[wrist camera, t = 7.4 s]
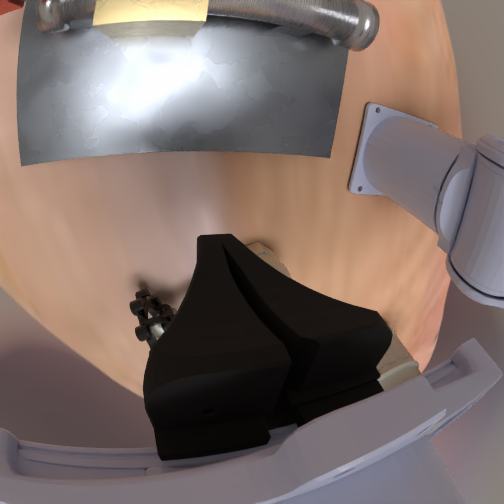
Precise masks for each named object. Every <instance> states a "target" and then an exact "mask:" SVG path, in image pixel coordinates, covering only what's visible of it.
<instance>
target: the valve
mask: <svg viewBox="0 0 504 504" xmlns="http://www.w3.org/2000/svg"><path fill="white" fill-rule="evenodd" d="M246 247H247V248H249V249H250V250H251V251H252V252H254V253H255V254H256V255H257V256H259V257H260V258H261V259H262V260H264V261H265V262H266V263H268V264H269V265H271V266H272V267H274V268H275V269H276V270H278V271H279V272H281V273H283V274H284V275H286V276H287V277H289V278H291V276H290V273H289V271H288V269H287V268H286V267H285V265H284V264H283V263H281V262H280V261H279V260H278V259H277V257H276V255H275V254H274V252H273V251H272V250H270V249H269V248H267V247H266V246H264V245H263V244H261V243H260V242H255V243H253V244H250V245H248V246H246ZM150 295H151V294H150V292H149V290H148V289H147V288H145V289H143V290H140V291H138V292H136V294H135V296H136V300H134V301H132V302H130V309H131V312H132V313H133V314H134V315H135V316H137V317H138V319H139V324H140V326H138V327H136V328H135V333H136V336H137V338H138V339H139V340H140V341H145V340H146V341H147V343H148V344H149V346H150V349H151V348H152V346H153V345H154V344H155V342H156V341H157V339H156V338H158V339H159V337H160V336H161V335H162V334H163V332H164V331H165V330H166V328H167V327H168V325H169V324H170V322H171V321H172V319H173V317H174V316H175V314H176V313H177V310H176V309H175V308H171V306H169V305H168V304H161V302H160V300H159V299H158V298H157V297H156V298H153V299H151V300H149V301H148V300H147V296H150ZM148 312H149V313H150V314H151V315H152V318H150V319H148ZM150 351H151V350H150ZM150 351H149V354H150Z"/></svg>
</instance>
